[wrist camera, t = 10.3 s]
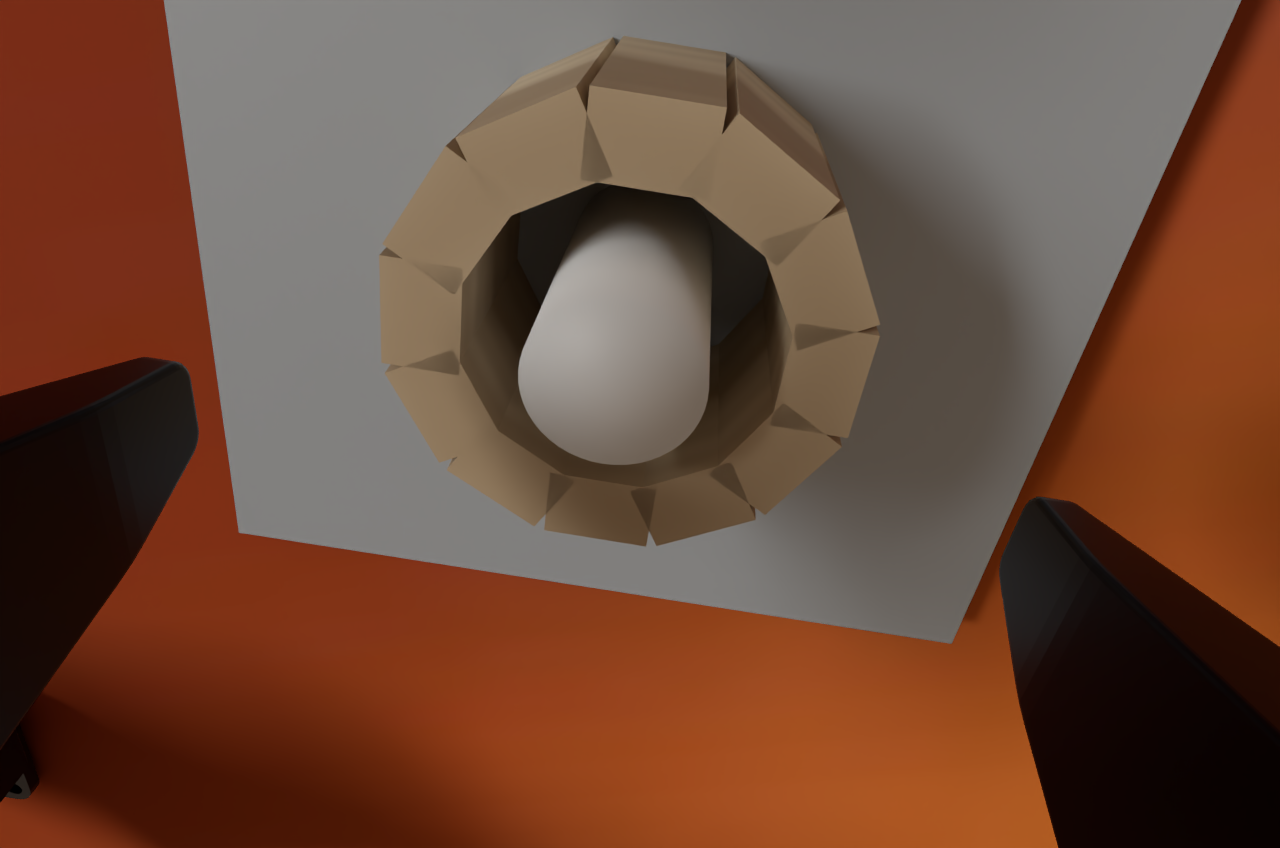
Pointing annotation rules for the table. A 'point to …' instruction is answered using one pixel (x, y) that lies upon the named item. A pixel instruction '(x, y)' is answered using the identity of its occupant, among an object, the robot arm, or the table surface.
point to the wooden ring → (507, 306)
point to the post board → (925, 196)
